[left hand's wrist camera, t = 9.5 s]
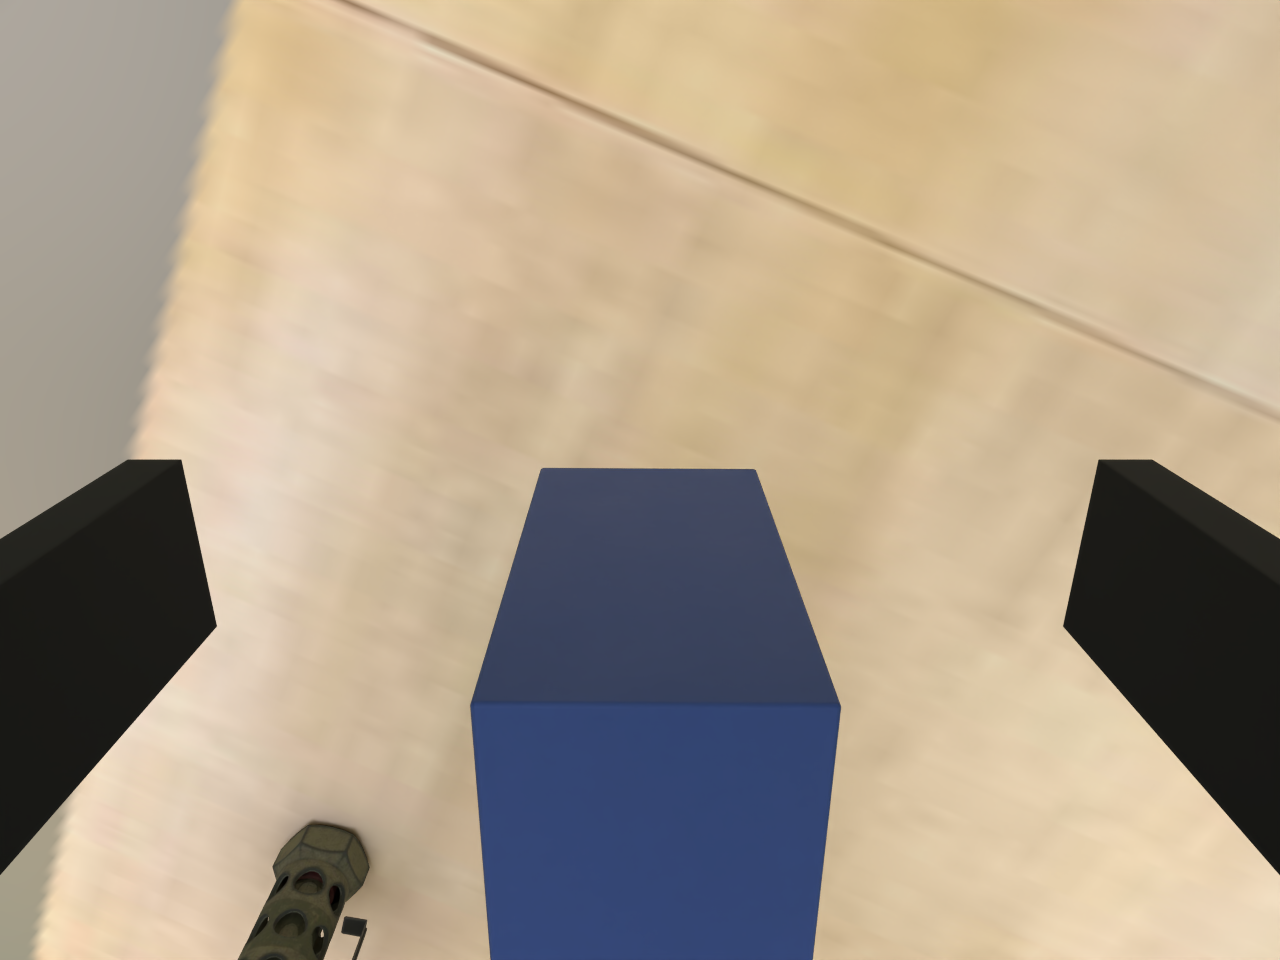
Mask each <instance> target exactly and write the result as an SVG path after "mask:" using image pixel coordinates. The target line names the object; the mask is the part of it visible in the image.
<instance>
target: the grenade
mask: <svg viewBox="0 0 1280 960" xmlns="http://www.w3.org/2000/svg"><path fill="white" fill-rule="evenodd" d="M273 870H274V874H275V877H276V880H277V881H276V883H275V885H274V887H273V889H272V891H271V893H270V896H269V898H268V899H267V901H266V903H265V905H264V907H263V909H262V911H261V913H260V915H259V917H258V920H257V922H256V924H255V926H254V928H253V930H252V932H251V934H250V936H249V939H248V941H247V943H246V944H245V946H244V948H243V950H242V952H241V954H240V956H239V958H238V960H323V959H324V957H325V954H326V951H327V949H328V946H329V943H330V941H331V938H332V936H333V933H334V931H335V928H336V925H337V923H338V920H339V917H340V915H341V912H342V910H343V907H344V904H345V902H346V901H347V900H349V899H350V898H351V897H352V896H353V895H354V894H355V893H356V892H357V891H358V890H359V889H360V888H361V887H362V886H363V884H364V881H365V878H366V875H367V873H368V870H369V864H368V861H367V857H366V855H365V852H364V850H363V848H362V846H361V844H360V842H359V841H358V839H357V838H356V837H355V836H354V835H353V834H351V833H349V832H347V831H345V830H342V829H338V828H335V827H330V826H323V825H308V826H307V827H305V828H304V829H302V830H301V831H300V832H298V833H297V834H296V835H295V836H294V837H293V838H292V839H291V840H290V841H289V842H288V843H287V844H286V845H285V846H284V847H283V848H282V849H281V851H280V853H279V855H278V857H277V859H276V861H275V863H274V865H273ZM268 917H269V920H268ZM366 924H367V920H365V919H359V918H353V917H347V916H346V917H344V921H343V926H342V931H341V932H342V933H343V934H348V935H354V936H359V937H360V939H359V942H358V945H357V947H356V950H355V953H354V956H353V958H352V960H356V959H357V957H358V954H359V951H360V948H361V945H362V943H363V940H364V937H365V934H366V931H367V928H366ZM322 929H323V932H324V937H321V931H322Z"/></svg>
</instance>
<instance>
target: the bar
mask: <svg viewBox="0 0 1280 960" xmlns="http://www.w3.org/2000/svg"><path fill="white" fill-rule="evenodd" d="M470 708H471V720H472V733H473V745H474V758H475V771H476V783H477V796H478V808H479V821H480V833H481V846H482V858H483V871H484V883H485V896H486V908H487V921H488V933H489V946H490V958H491V960H813V952H814V943H815V934H816V925H817V916H818V908H819V899H820V890H821V881H822V872H823V863H824V854H825V845H826V836H827V828H828V819H829V810H830V801H831V792H832V783H833V774H834V765H835V756H836V748H837V739H838V730H839V721H840V712H841V705H840V702H839V700H838V697H837V694H836V691H835V689H834V686H833V683H832V680H831V677H830V675H829V672H828V669H827V666H826V664H825V661H824V658H823V655H822V652H821V650H820V647H819V644H818V641H817V639H816V636H815V633H814V630H813V628H812V625H811V622H810V619H809V616H808V614H807V611H806V608H805V605H804V603H803V600H802V597H801V594H800V591H799V589H798V586H797V583H796V580H795V578H794V575H793V572H792V569H791V567H790V564H789V561H788V558H787V555H786V553H785V550H784V547H783V544H782V542H781V539H780V536H779V533H778V530H777V528H776V525H775V522H774V519H773V517H772V514H771V511H770V508H769V506H768V503H767V500H766V497H765V494H764V492H763V489H762V486H761V483H760V481H759V478H758V475H757V472H756V470H754V469H621V468H542V469H541V471H540V474H539V478H538V481H537V484H536V488H535V491H534V494H533V498H532V501H531V504H530V508H529V511H528V514H527V518H526V521H525V524H524V528H523V531H522V534H521V538H520V541H519V544H518V548H517V551H516V554H515V558H514V561H513V564H512V568H511V571H510V574H509V578H508V581H507V584H506V588H505V591H504V594H503V598H502V601H501V604H500V608H499V611H498V614H497V618H496V621H495V624H494V628H493V631H492V634H491V638H490V641H489V644H488V648H487V651H486V654H485V658H484V661H483V664H482V668H481V671H480V674H479V678H478V681H477V684H476V688H475V691H474V694H473V698H472V701H471V704H470Z"/></svg>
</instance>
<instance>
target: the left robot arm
mask: <svg viewBox="0 0 1280 960" xmlns="http://www.w3.org/2000/svg"><path fill="white" fill-rule="evenodd" d="M216 627H217V625H216V620H215V615H214V611H213V606H212V601H211V596H210V592H209V587H208V582H207V578H206V573H205V568H204V564H203V559H202V554H201V550H200V545H199V540H198V536H197V531H196V526H195V521H194V517H193V512H192V507H191V503H190V498H189V493H188V489H187V484H186V479H185V475H184V470H183V465H182V461H181V460H126V461H125V462H123V463H122V464H120V465H118V466H117V467H115V468H114V469H112V470H110V471H109V472H107V473H106V474H104V475H102V476H101V477H99V478H98V479H96V480H94V481H93V482H91V483H90V484H88V485H86V486H85V487H83V488H81V489H80V490H78V491H77V492H75V493H73V494H72V495H70V496H69V497H67V498H66V499H64V500H62V501H61V502H59V503H57V504H56V505H54V506H53V507H51V508H49V509H48V510H46V511H45V512H43V513H41V514H40V515H38V516H37V517H35V518H33V519H32V520H30V521H28V522H27V523H25V524H24V525H22V526H20V527H19V528H17V529H16V530H14V531H12V532H11V533H9V534H8V535H6V536H4V537H3V538H1V539H0V875H1V873H2V872H3V871H4V870H5V869H6V868H7V867H8V865H9V864H10V863H11V862H12V861H13V860H14V859H15V857H16V856H17V855H18V854H19V853H20V852H21V851H22V849H23V848H24V847H25V846H26V845H27V844H28V842H29V841H30V840H31V839H32V838H33V837H34V836H35V834H36V833H37V832H38V831H39V830H40V829H41V828H42V826H43V825H44V824H45V823H46V822H47V821H48V820H49V818H50V817H51V816H52V815H53V814H54V813H55V812H56V810H57V809H58V808H59V807H60V806H61V805H62V803H63V802H64V801H65V800H66V799H67V798H68V797H69V795H70V794H71V793H72V792H73V791H74V790H75V789H76V787H77V786H78V785H79V784H80V783H81V782H82V781H83V779H84V778H85V777H86V776H87V775H88V774H89V773H90V771H91V770H92V769H93V768H94V767H95V766H96V764H97V763H98V762H99V761H100V760H101V759H102V758H103V756H104V755H105V754H106V753H107V752H108V751H109V750H110V748H111V747H112V746H113V745H114V744H115V743H116V742H117V740H118V739H119V738H120V737H121V736H122V735H123V733H124V732H125V731H126V730H127V729H128V728H129V727H130V725H131V724H132V723H133V722H134V721H135V720H136V719H137V717H138V716H139V715H140V714H141V713H142V712H143V711H144V709H145V708H146V707H147V706H148V705H149V704H150V703H151V701H152V700H153V699H154V698H155V697H156V696H157V694H158V693H159V692H160V691H161V690H162V689H163V688H164V686H165V685H166V684H167V683H168V682H169V681H170V680H171V678H172V677H173V676H174V675H175V674H176V673H177V672H178V670H179V669H180V668H181V667H182V666H183V665H184V663H185V662H186V661H187V660H188V659H189V658H190V657H191V655H192V654H193V653H194V652H195V651H196V650H197V649H198V647H199V646H200V645H201V644H202V643H203V642H204V641H205V639H206V638H207V637H208V636H209V635H210V634H211V633H212V631H213V630H214V629H215V628H216ZM1063 627H1064V628H1065V629H1066V630H1067V631H1068V633H1069V634H1070V635H1071V636H1072V637H1073V638H1074V639H1075V641H1076V642H1077V643H1078V644H1079V645H1080V646H1081V647H1082V649H1083V650H1084V651H1085V652H1086V653H1087V654H1088V655H1089V657H1090V658H1091V659H1092V660H1093V661H1094V662H1095V663H1096V665H1097V666H1098V667H1099V668H1100V669H1101V670H1102V672H1103V673H1104V674H1105V675H1106V676H1107V677H1108V678H1109V680H1110V681H1111V682H1112V683H1113V684H1114V685H1115V686H1116V688H1117V689H1118V690H1119V691H1120V692H1121V693H1122V694H1123V696H1124V697H1125V698H1126V699H1127V700H1128V701H1129V703H1130V704H1131V705H1132V706H1133V707H1134V708H1135V709H1136V711H1137V712H1138V713H1139V714H1140V715H1141V716H1142V717H1143V719H1144V720H1145V721H1146V722H1147V723H1148V724H1149V725H1150V727H1151V728H1152V729H1153V730H1154V731H1155V732H1156V733H1157V735H1158V736H1159V737H1160V738H1161V739H1162V740H1163V742H1164V743H1165V744H1166V745H1167V746H1168V747H1169V748H1170V750H1171V751H1172V752H1173V753H1174V754H1175V755H1176V756H1177V758H1178V759H1179V760H1180V761H1181V762H1182V763H1183V764H1184V766H1185V767H1186V768H1187V769H1188V770H1189V771H1190V773H1191V774H1192V775H1193V776H1194V777H1195V778H1196V779H1197V781H1198V782H1199V783H1200V784H1201V785H1202V786H1203V787H1204V789H1205V790H1206V791H1207V792H1208V793H1209V794H1210V795H1211V797H1212V798H1213V799H1214V800H1215V801H1216V802H1217V803H1218V805H1219V806H1220V807H1221V808H1222V809H1223V810H1224V812H1225V813H1226V814H1227V815H1228V816H1229V817H1230V818H1231V820H1232V821H1233V822H1234V823H1235V824H1236V825H1237V826H1238V828H1239V829H1240V830H1241V831H1242V832H1243V833H1244V834H1245V836H1246V837H1247V838H1248V839H1249V840H1250V841H1251V843H1252V844H1253V845H1254V846H1255V847H1256V848H1257V849H1258V851H1259V852H1260V853H1261V854H1262V855H1263V856H1264V857H1265V859H1266V860H1267V861H1268V862H1269V863H1270V864H1271V865H1272V867H1273V868H1274V869H1275V870H1276V871H1277V872H1278V873H1279V875H1280V539H1279V538H1277V537H1276V536H1274V535H1272V534H1271V533H1269V532H1268V531H1266V530H1264V529H1263V528H1261V527H1260V526H1258V525H1256V524H1255V523H1253V522H1252V521H1250V520H1248V519H1247V518H1245V517H1243V516H1242V515H1240V514H1239V513H1237V512H1235V511H1234V510H1232V509H1231V508H1229V507H1227V506H1226V505H1224V504H1223V503H1221V502H1219V501H1218V500H1216V499H1215V498H1213V497H1211V496H1210V495H1208V494H1207V493H1205V492H1203V491H1202V490H1200V489H1199V488H1197V487H1195V486H1194V485H1192V484H1190V483H1189V482H1187V481H1186V480H1184V479H1182V478H1181V477H1179V476H1178V475H1176V474H1174V473H1173V472H1171V471H1170V470H1168V469H1166V468H1165V467H1163V466H1162V465H1160V464H1158V463H1157V462H1155V461H1154V460H1099V461H1098V465H1097V470H1096V475H1095V479H1094V484H1093V489H1092V493H1091V498H1090V503H1089V507H1088V512H1087V517H1086V521H1085V526H1084V531H1083V536H1082V540H1081V545H1080V550H1079V554H1078V559H1077V564H1076V568H1075V573H1074V578H1073V582H1072V587H1071V592H1070V596H1069V601H1068V606H1067V611H1066V615H1065V620H1064V625H1063Z"/></svg>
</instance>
